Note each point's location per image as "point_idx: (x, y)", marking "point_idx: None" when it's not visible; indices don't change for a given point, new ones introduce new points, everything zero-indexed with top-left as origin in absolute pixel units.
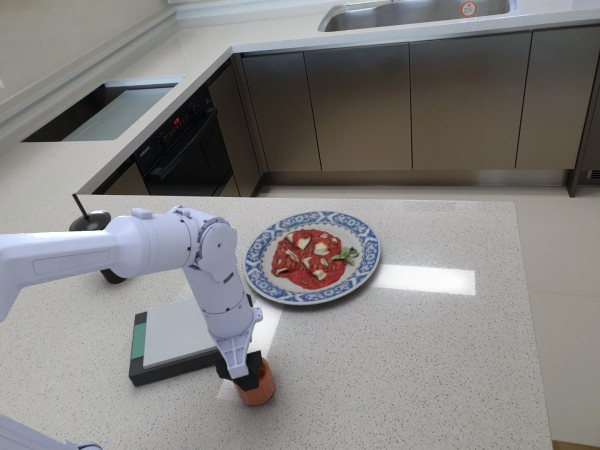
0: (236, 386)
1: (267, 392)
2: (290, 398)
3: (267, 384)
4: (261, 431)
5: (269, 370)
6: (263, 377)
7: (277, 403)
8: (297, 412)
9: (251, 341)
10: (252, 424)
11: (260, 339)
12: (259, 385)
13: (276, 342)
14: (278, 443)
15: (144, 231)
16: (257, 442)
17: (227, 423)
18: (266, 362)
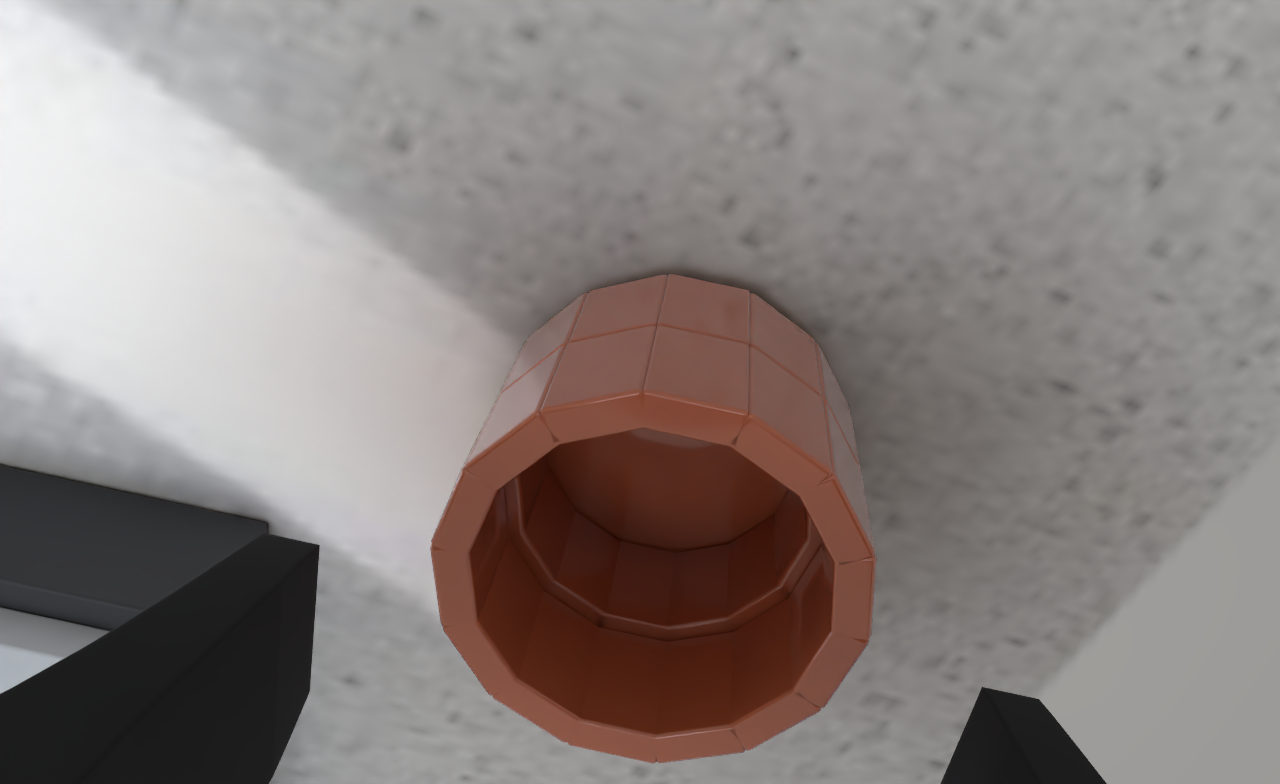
0: (742, 749)
1: (847, 426)
2: (933, 198)
3: (842, 449)
4: (1060, 527)
5: (753, 417)
6: (808, 509)
7: (906, 324)
8: (1111, 198)
9: (313, 548)
10: (956, 563)
11: (125, 204)
12: (875, 573)
13: (222, 65)
14: (1253, 453)
15: None
16: (1124, 581)
17: (830, 702)
18: (625, 407)
